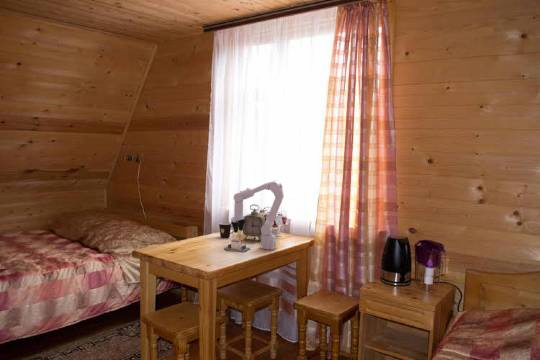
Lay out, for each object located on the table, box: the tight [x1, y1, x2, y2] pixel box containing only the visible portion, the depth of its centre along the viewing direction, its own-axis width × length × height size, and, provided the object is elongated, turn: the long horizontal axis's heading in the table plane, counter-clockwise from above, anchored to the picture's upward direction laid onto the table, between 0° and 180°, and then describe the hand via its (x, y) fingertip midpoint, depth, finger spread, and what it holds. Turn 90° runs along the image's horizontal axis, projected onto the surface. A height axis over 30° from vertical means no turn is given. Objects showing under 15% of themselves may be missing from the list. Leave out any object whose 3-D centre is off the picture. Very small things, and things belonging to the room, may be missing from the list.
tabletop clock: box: [242, 204, 266, 242], centre depth 313 cm, size 14×9×25 cm, turn 73°
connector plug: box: [230, 239, 242, 249], centre depth 286 cm, size 5×4×5 cm
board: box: [223, 243, 251, 253], centre depth 286 cm, size 14×9×3 cm, turn 69°
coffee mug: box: [218, 221, 234, 239], centre depth 318 cm, size 12×9×10 cm
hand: (238, 231), depth 296 cm, fingers open, 7 cm apart
